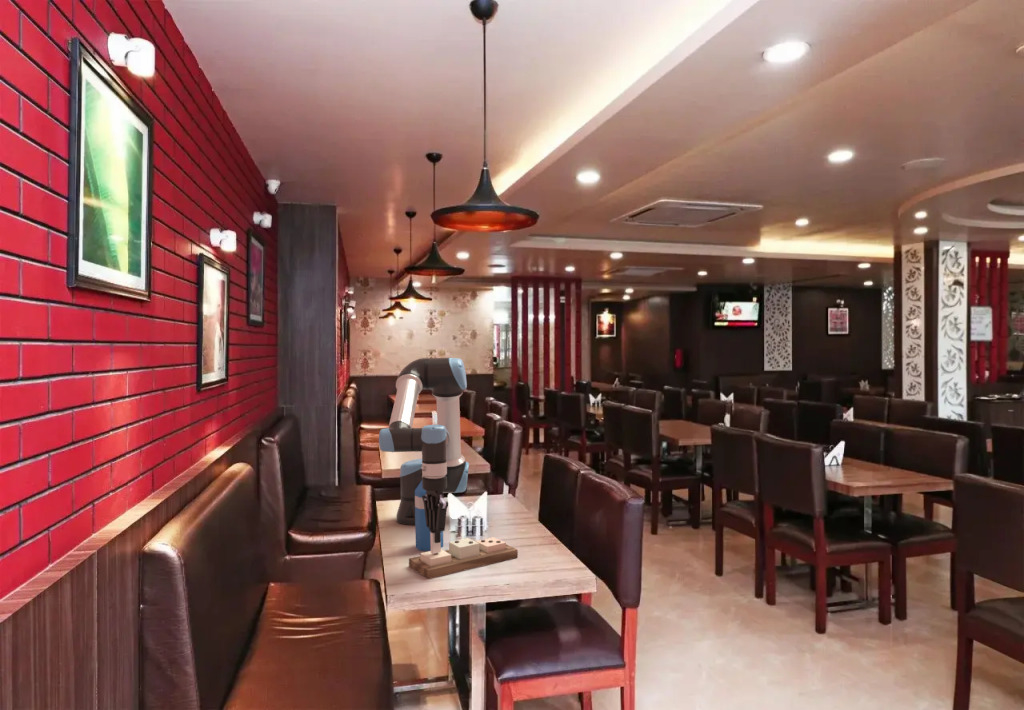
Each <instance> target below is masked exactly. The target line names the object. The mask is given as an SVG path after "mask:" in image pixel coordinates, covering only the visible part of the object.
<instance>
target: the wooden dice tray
mask: <svg viewBox="0 0 1024 710" xmlns="http://www.w3.org/2000/svg"><path fill="white" fill-rule="evenodd" d="M444 551H445V552H447V553H449V549H446V550H444ZM518 557H519V555H518V549H517V548H514V547H513V546H511V545H508V544H506V549H505V550H500V551H496V552H492V553H485V552H483V551H481V550H479V556H474V557H470V558H466V559H461V560H459V559H457V558H455V557H453V556H451V562H448V563H444V564H440V565H435V566H431V567H430V566H428V565H427V564H425V563H423V562H422V561H421V559H420V555H419V556H414V557H409V558H408V567H409V568H411V569H412V570H413V571H415V572H416V573H418V574H420V575H421V576H423V577H425V578H426V579H428V580H429V579H434V578H438V577H442V576H446V575H450V574H454V573H459V572H463V571H465V570H466V571H467V570H470V569H475V568H478V567H479V568H480V567H484V566H488V565H492V564H495V563H500V562H504V561H507V560H508V561H509V560H512V559H515V558H518ZM483 565H484V566H483Z"/></svg>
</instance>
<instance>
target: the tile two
mask: <svg viewBox="0 0 1024 710" xmlns="http://www.w3.org/2000/svg"><path fill="white" fill-rule="evenodd" d="M448 550H449V554H451V556H453V557H455V558H457V559H459V560H461V559H466V558H470V557H474V556H479V543H477V542H476V540H473V539H472V538H470V537H466V538H461V539H456V540H451V541H448Z"/></svg>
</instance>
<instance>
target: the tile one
mask: <svg viewBox="0 0 1024 710" xmlns="http://www.w3.org/2000/svg"><path fill="white" fill-rule="evenodd" d="M445 551H446V550H444V549H442V548H441V552H440V553H435V554H432V553H431V551H422V552H420V555H419V556H420V559H421V561H422V562H423V563H425V564H427V565H428V566H430V567H431V566H435V565H440V564H444V563H448V562H451V554H449V553H447V552H445Z"/></svg>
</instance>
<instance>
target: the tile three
mask: <svg viewBox="0 0 1024 710" xmlns="http://www.w3.org/2000/svg"><path fill="white" fill-rule="evenodd" d="M475 542H477V543H479V550H481V551H483V552H485V553H492V552H496V551H500V550H505V549H506V545H507V542H505V541H504V540H502V539H498V538H497V537H494V536H493V537H489V538H485V539H481V540H475Z"/></svg>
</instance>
